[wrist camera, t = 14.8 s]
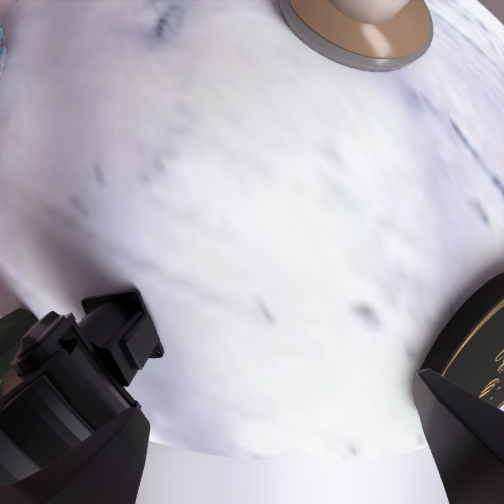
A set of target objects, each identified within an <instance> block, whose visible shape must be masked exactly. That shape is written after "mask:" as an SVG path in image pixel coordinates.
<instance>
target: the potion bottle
mask: <svg viewBox="0 0 504 504" xmlns="http://www.w3.org/2000/svg"><path fill="white" fill-rule="evenodd" d="M37 322H38V320H37V318H36V317H35V316H34V315H33V314H31V313H30V312H29V311H27V310H24V309H20V308H19V309H17V310H15V311H13V312H12V313H10V314H8V315H6V316H4V317H3V318H1V319H0V385H1V382H2V381H3V379H4V378H5V377H7V376H8V375H9V374H10V373H11V372H12V371H13V370H14V368H13V367H12V365H11V362H12V360H13V358H14V357H15V355H16V353H17V352H18V350H19V349H20V340H21V339H22V337H23V336H24V335H25V334H26V333H27V332H28V331H29V330H30V328H31V327H32V326H33V325H34V324H36V323H37Z"/></svg>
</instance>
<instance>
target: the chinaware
mask: <svg viewBox="0 0 504 504" xmlns="http://www.w3.org/2000/svg"><path fill="white" fill-rule="evenodd" d="M6 59H7V48H6V46H5V45H4V32H3V27H2V23H1V20H0V77H1V75H2V72H3V70H4V67H5V63H6Z"/></svg>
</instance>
